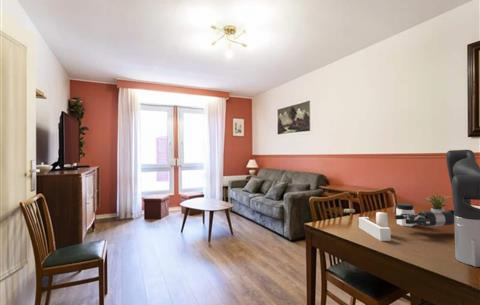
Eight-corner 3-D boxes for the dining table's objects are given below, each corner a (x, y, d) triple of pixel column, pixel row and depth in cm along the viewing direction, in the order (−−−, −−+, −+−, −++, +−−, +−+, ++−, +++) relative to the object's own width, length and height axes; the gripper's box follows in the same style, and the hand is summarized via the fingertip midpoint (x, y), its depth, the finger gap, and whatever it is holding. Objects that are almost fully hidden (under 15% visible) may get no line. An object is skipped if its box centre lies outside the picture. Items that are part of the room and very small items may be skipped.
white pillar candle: (390, 235, 125) (389, 214, 126) (380, 235, 125) (379, 214, 126) (384, 232, 131) (383, 211, 131) (374, 232, 131) (374, 212, 131)
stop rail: (390, 240, 118) (390, 228, 118) (380, 240, 118) (380, 228, 118) (367, 227, 140) (367, 216, 140) (358, 227, 140) (358, 217, 140)
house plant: (450, 216, 159) (449, 191, 159) (458, 221, 146) (457, 194, 146) (423, 214, 165) (422, 190, 165) (429, 219, 152) (428, 193, 152)
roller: (353, 209, 178) (354, 213, 177) (343, 210, 178) (344, 213, 177) (354, 208, 176) (355, 211, 175) (344, 208, 176) (345, 211, 175)
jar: (410, 227, 138) (409, 206, 138) (394, 224, 145) (393, 204, 145) (416, 224, 143) (416, 204, 143) (401, 221, 150) (400, 202, 150)
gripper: (421, 208, 135) (391, 209, 135) (442, 214, 121) (409, 215, 121) (421, 222, 135) (392, 222, 135) (442, 229, 121) (410, 230, 121)
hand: (400, 219), depth 128 cm, fingers open, 8 cm apart
